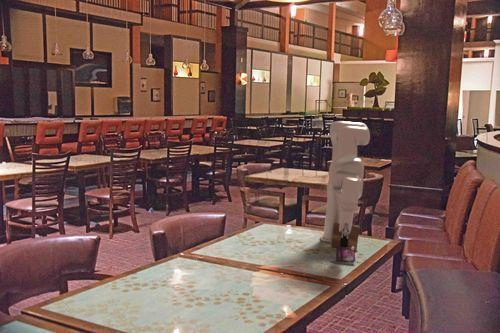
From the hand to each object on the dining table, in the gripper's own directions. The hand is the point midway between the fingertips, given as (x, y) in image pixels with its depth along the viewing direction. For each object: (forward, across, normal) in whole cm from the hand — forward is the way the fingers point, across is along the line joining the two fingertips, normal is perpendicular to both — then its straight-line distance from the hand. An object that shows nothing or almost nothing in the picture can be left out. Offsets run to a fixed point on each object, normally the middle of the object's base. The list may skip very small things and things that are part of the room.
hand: (344, 243), depth 226 cm
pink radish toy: (+7, +1, +1) cm, 7 cm away
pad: (+8, +1, 0) cm, 8 cm away
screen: (+8, -19, 0) cm, 21 cm away
